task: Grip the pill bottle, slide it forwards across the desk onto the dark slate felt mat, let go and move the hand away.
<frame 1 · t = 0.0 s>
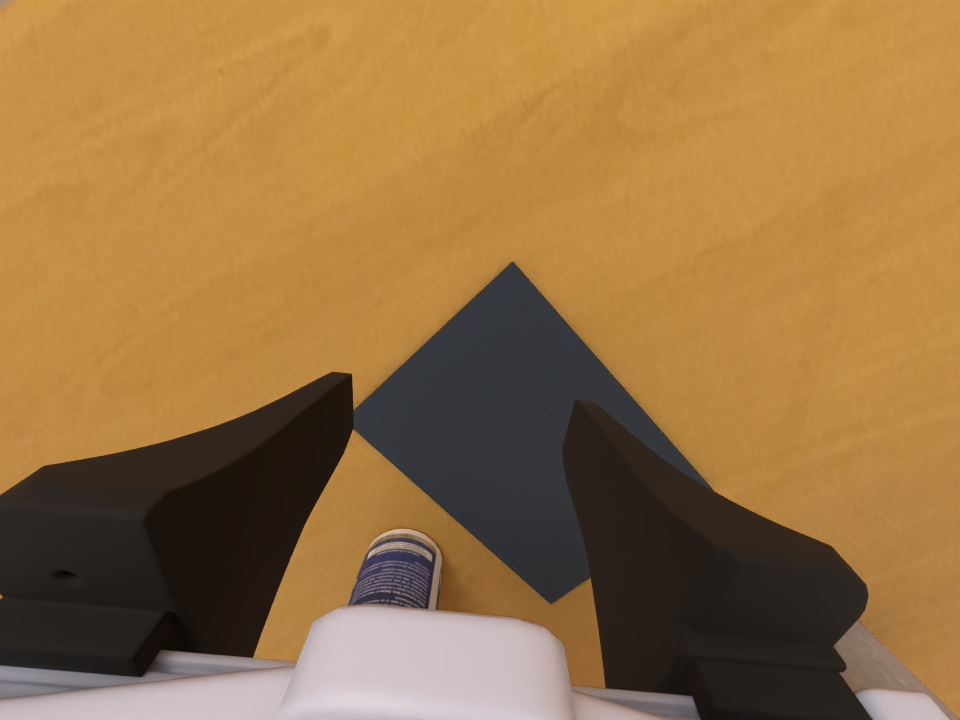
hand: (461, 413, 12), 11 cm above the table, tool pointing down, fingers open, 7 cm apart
pillar candle: (798, 648, 30), on the table
felt mat: (534, 454, 25), on the table
pill bottle: (405, 555, 27), on the table
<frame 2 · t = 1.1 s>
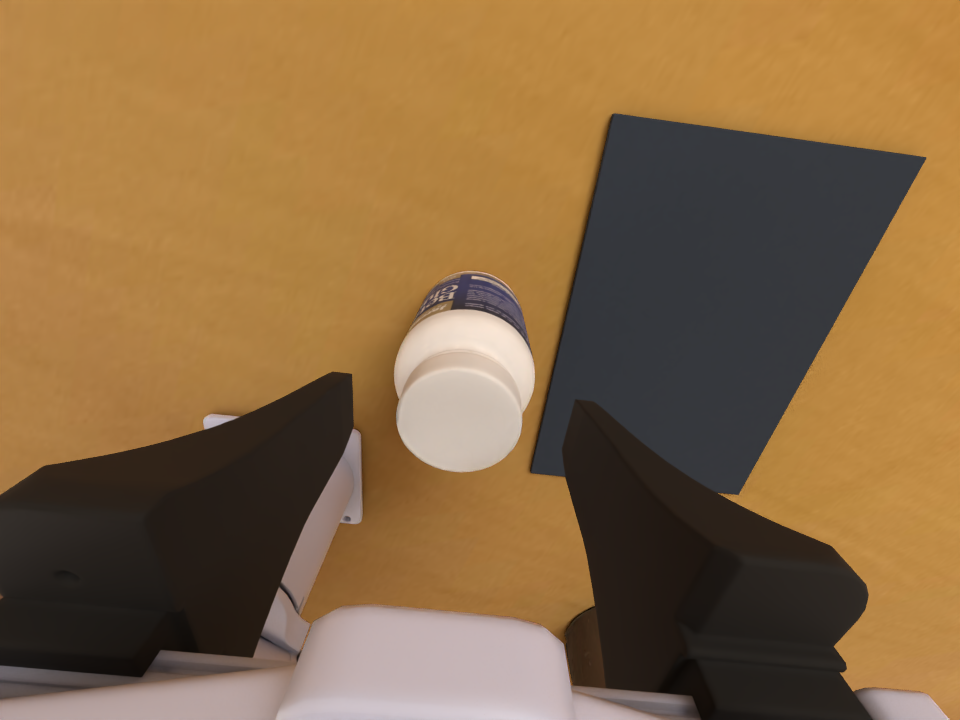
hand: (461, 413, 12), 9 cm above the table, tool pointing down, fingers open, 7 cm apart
pillar candle: (620, 632, 33), on the table
felt mat: (687, 344, 21), on the table
pill bottle: (471, 317, 21), on the table
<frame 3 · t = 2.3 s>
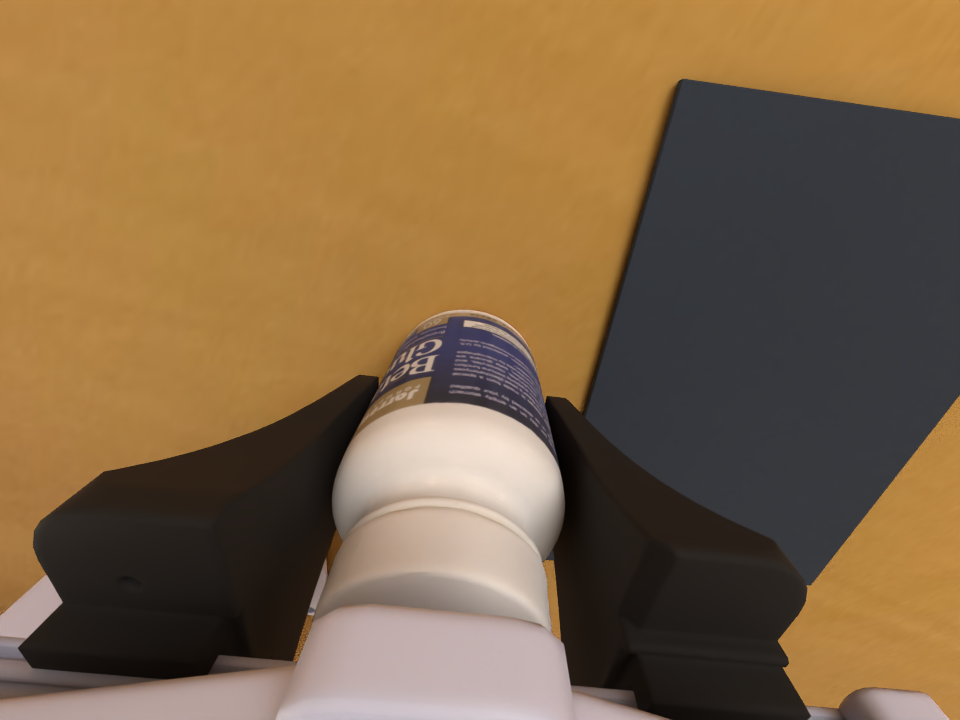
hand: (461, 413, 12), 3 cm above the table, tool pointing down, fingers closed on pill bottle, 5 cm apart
felt mat: (761, 405, 15), on the table
pill bottle: (465, 368, 15), on the table, touching gripper
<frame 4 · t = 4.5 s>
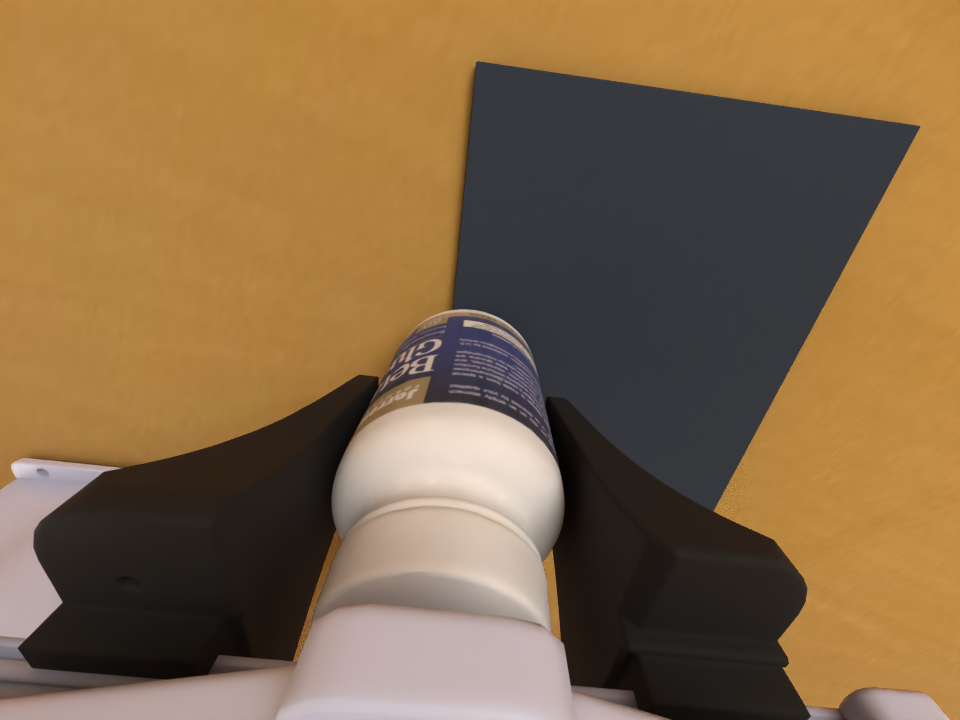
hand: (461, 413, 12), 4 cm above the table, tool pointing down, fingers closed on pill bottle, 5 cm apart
felt mat: (611, 375, 16), on the table
pill bottle: (465, 368, 15), point 1 cm above the table, touching gripper
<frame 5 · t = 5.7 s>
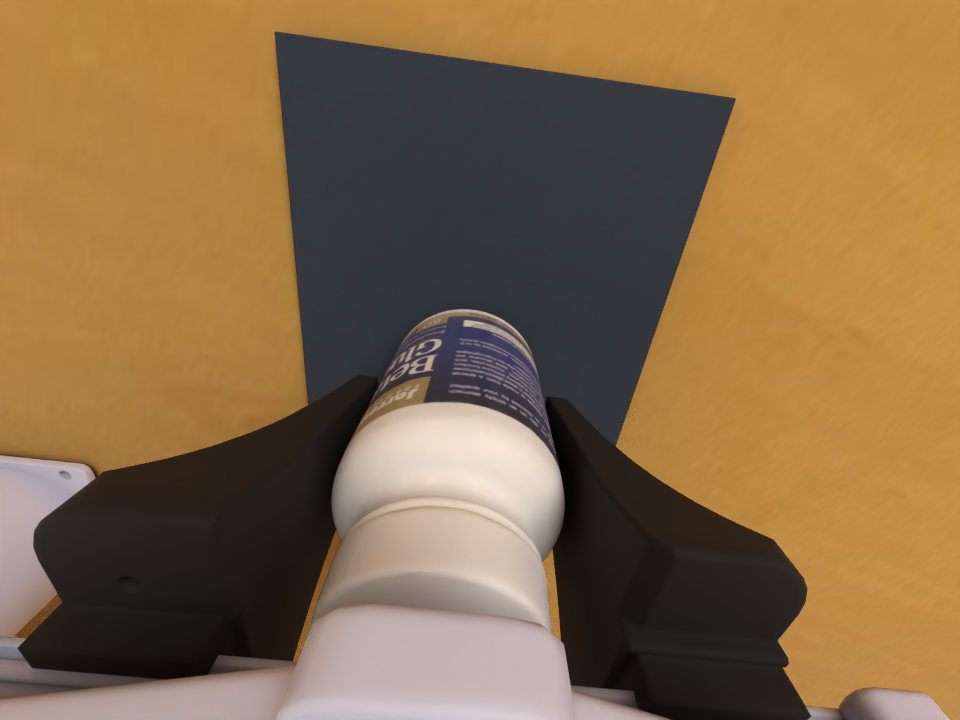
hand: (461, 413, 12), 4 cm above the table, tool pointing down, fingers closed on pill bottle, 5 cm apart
felt mat: (473, 359, 16), on the table
pill bottle: (465, 368, 15), point 1 cm above the table, touching gripper
when the fingers open (3 cm above the table, at t = 6.7 s): pill bottle stays where it is, resting on felt mat.
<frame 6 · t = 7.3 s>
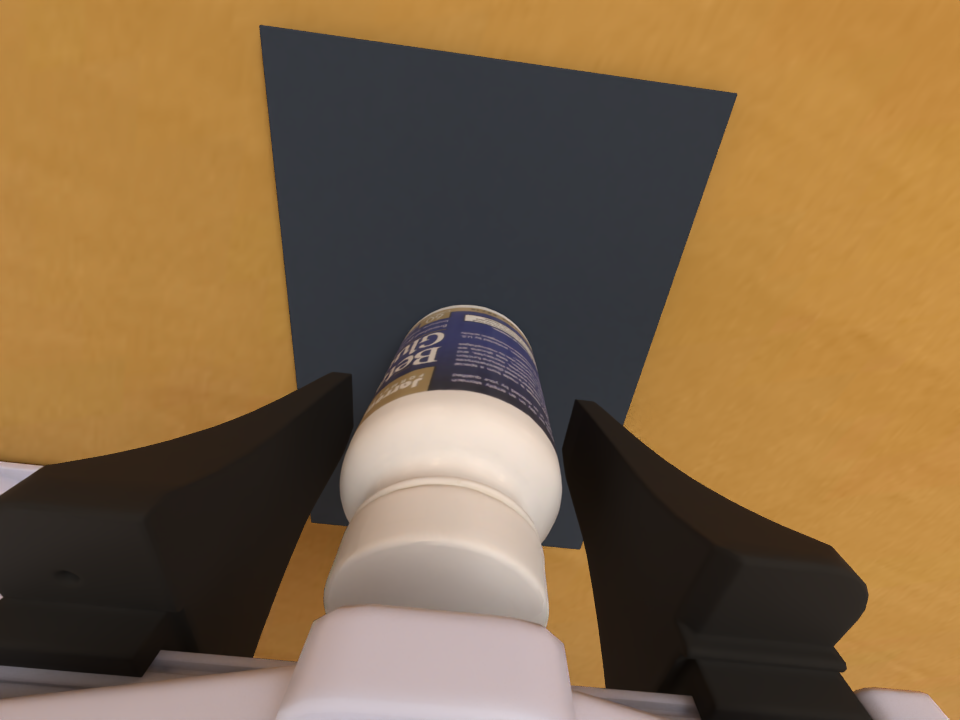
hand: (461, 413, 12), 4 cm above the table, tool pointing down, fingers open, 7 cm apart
felt mat: (467, 362, 16), on the table
pill bottle: (466, 363, 16), resting on felt mat
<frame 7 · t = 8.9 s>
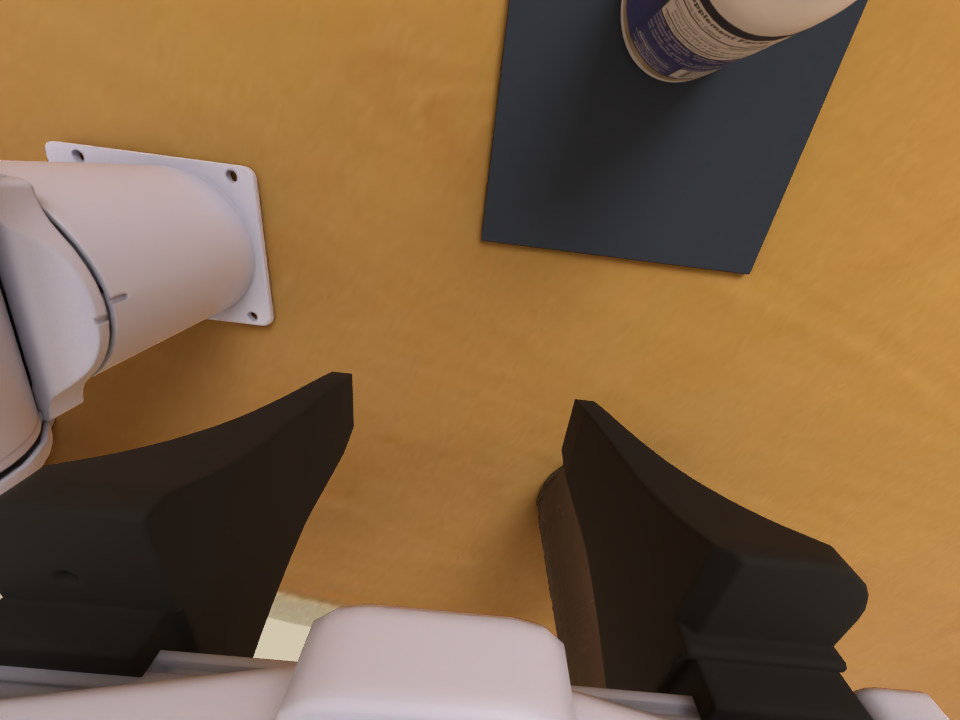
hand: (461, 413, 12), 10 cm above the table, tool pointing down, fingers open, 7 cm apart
pillar candle: (604, 501, 27), on the table
felt mat: (683, 6, 15), on the table
pill bottle: (683, 4, 15), resting on felt mat
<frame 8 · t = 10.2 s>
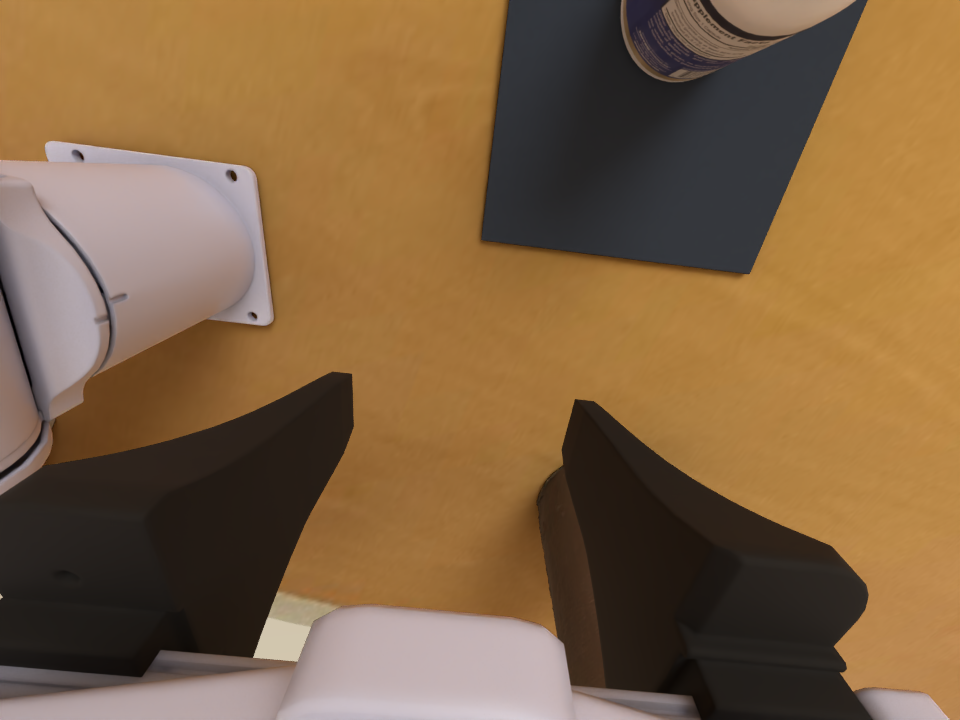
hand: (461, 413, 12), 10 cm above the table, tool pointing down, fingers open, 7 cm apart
pillar candle: (604, 501, 27), on the table
felt mat: (683, 6, 15), on the table
pill bottle: (683, 4, 15), resting on felt mat
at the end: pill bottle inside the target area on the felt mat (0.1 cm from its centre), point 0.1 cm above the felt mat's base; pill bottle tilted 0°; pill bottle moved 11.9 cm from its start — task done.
